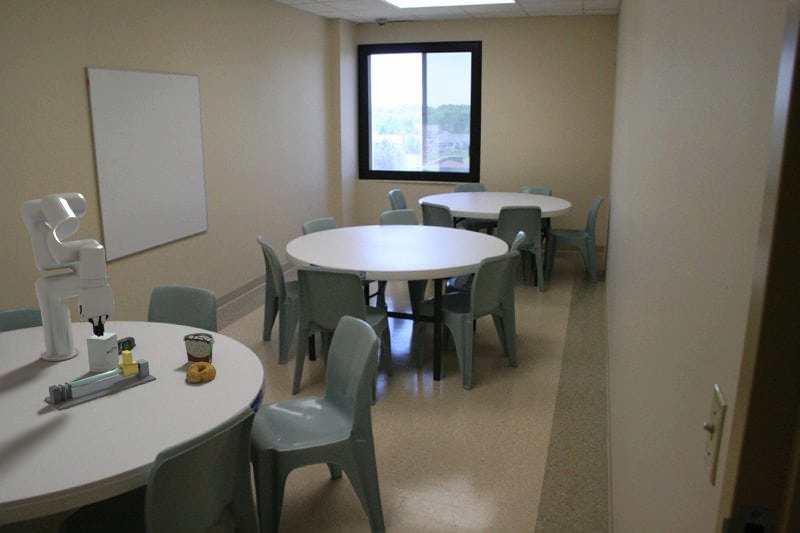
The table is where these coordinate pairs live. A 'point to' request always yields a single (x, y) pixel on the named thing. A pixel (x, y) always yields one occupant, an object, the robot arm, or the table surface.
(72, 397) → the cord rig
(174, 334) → the table surface
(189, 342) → the food container
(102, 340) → the supplement box
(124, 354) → the sleeve
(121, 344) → the mobile phone
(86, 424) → the table surface
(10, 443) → the table surface
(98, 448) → the table surface
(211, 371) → the bagel
